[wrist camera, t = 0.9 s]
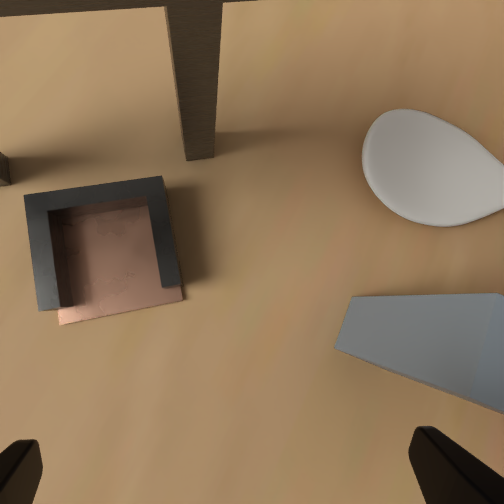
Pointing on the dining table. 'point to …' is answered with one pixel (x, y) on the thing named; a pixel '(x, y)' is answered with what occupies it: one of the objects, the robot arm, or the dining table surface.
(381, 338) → the blue-grey rectangular block
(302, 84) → the dining table surface
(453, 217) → the spoon
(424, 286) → the dining table surface
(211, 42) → the overhang seat
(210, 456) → the dining table surface
